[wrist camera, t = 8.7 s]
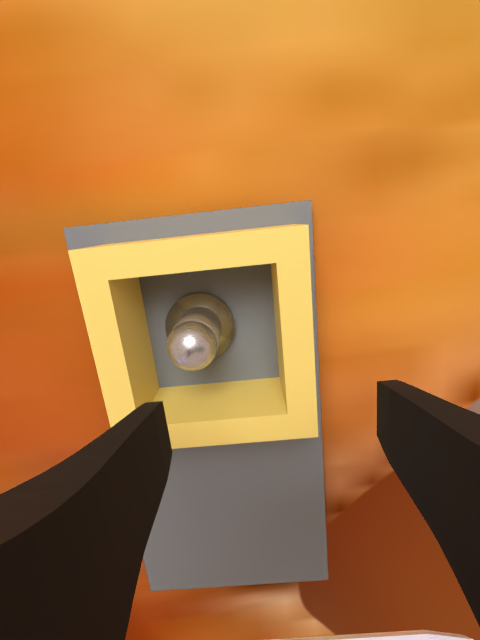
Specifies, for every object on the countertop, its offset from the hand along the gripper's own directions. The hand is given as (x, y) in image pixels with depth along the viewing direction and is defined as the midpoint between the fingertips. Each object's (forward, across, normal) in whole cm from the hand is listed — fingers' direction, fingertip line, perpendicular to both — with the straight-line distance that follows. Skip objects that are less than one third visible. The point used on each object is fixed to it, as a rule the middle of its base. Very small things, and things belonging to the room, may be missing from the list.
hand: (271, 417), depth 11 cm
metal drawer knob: (+8, +3, -1) cm, 9 cm away
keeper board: (+9, +3, +6) cm, 11 cm away
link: (+8, +3, -1) cm, 9 cm away
